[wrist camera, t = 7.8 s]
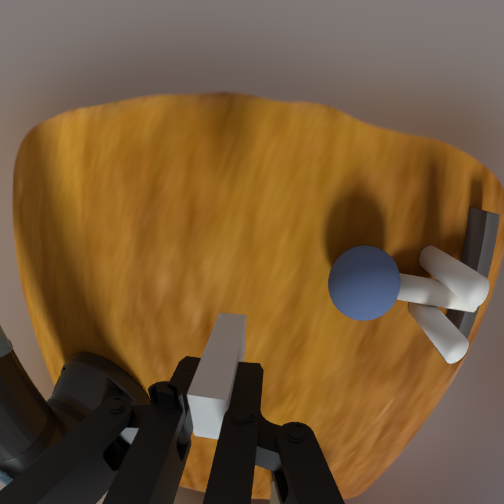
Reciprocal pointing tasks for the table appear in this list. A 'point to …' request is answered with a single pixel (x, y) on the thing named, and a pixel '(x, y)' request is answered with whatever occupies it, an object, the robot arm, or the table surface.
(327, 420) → the table surface
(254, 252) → the table surface
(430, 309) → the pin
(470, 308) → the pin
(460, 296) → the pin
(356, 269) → the ball
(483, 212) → the back wall
